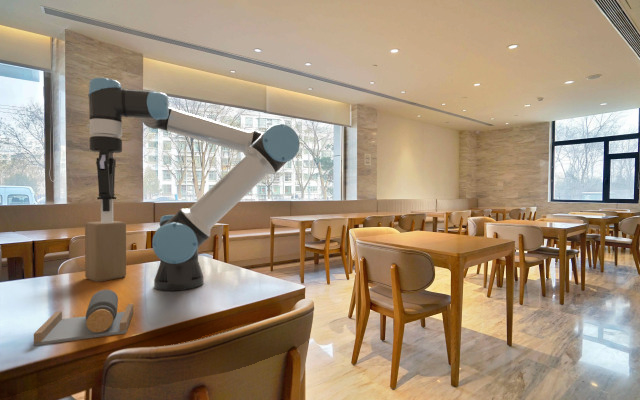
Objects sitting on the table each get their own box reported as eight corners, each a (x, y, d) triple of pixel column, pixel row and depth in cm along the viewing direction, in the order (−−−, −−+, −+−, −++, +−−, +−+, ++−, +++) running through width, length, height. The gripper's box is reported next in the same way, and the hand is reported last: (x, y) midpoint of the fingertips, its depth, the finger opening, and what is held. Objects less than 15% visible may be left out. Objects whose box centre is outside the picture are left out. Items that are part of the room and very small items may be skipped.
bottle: (85, 308, 81) (77, 331, 68) (98, 285, 82) (92, 303, 69) (110, 315, 84) (107, 338, 71) (122, 293, 85) (121, 312, 72)
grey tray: (133, 313, 85) (133, 303, 85) (126, 333, 73) (126, 322, 73) (55, 322, 78) (55, 312, 78) (33, 345, 66) (33, 333, 66)
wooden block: (114, 273, 126) (114, 220, 126) (127, 277, 120) (127, 221, 120) (84, 278, 118) (83, 222, 117) (96, 283, 112) (95, 223, 112)
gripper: (95, 139, 96) (96, 221, 97) (83, 132, 84) (85, 225, 85) (125, 141, 99) (126, 220, 100) (118, 134, 87) (119, 224, 88)
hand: (107, 222), depth 92 cm, fingers closed
